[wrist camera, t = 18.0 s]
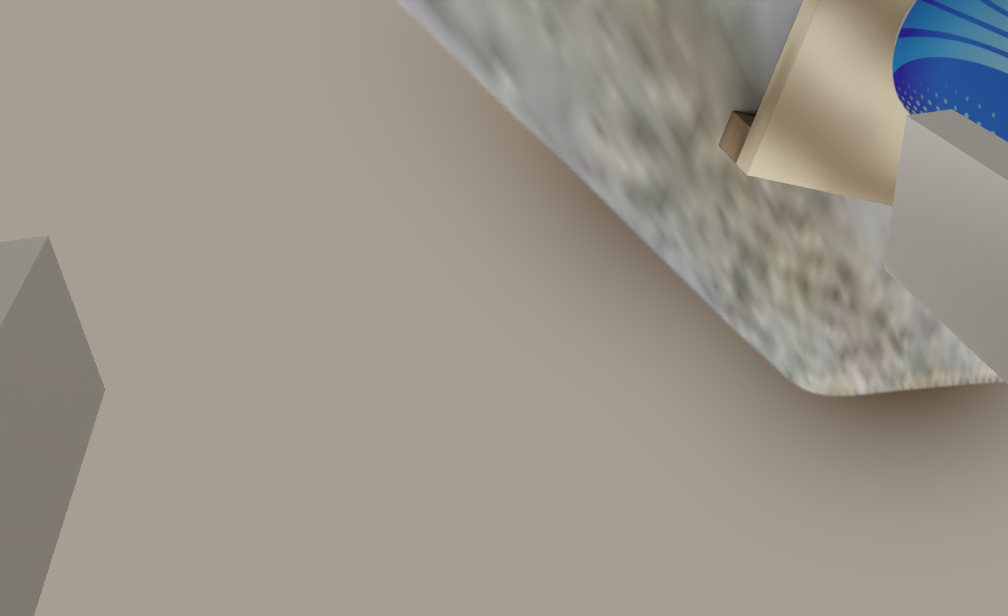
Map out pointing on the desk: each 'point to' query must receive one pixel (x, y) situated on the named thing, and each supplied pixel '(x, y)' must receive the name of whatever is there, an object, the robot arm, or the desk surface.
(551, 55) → the desk surface
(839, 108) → the shelf stand
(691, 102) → the desk surface
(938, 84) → the beer can
